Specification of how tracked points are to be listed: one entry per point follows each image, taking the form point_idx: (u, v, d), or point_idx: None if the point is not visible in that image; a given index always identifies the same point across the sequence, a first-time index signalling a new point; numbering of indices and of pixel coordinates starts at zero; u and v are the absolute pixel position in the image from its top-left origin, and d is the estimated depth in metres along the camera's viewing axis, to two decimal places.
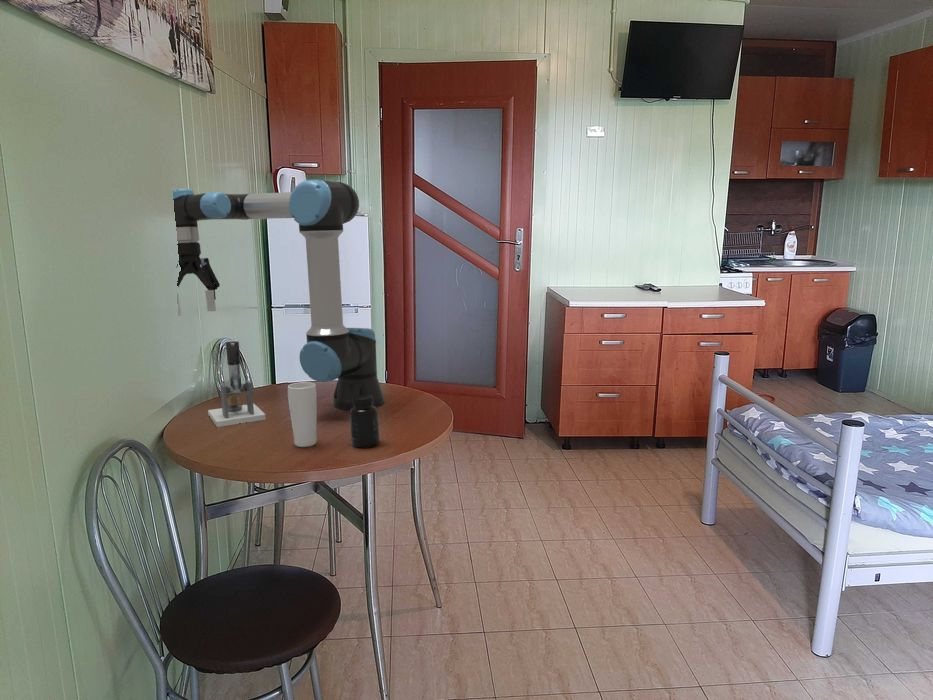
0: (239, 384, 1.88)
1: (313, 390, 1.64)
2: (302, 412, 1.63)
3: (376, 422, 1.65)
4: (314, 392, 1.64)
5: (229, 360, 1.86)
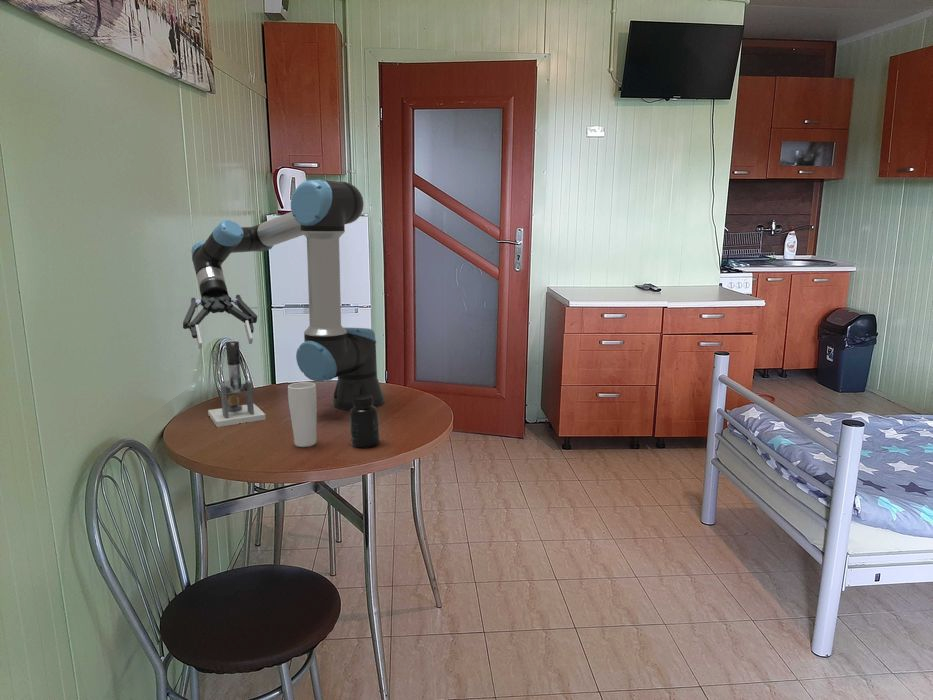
0: (239, 384, 1.88)
1: (313, 390, 1.64)
2: (302, 412, 1.63)
3: (376, 422, 1.65)
4: (314, 392, 1.64)
5: (229, 360, 1.86)
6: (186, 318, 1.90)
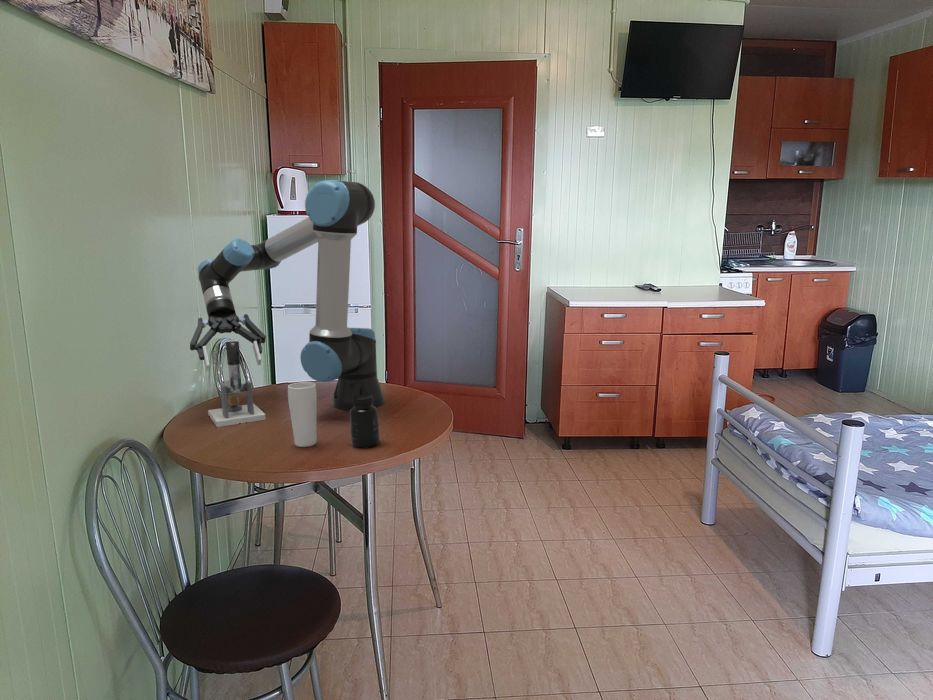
0: (239, 384, 1.88)
1: (313, 390, 1.64)
2: (302, 412, 1.63)
3: (376, 422, 1.65)
4: (314, 392, 1.64)
5: (229, 360, 1.86)
6: (193, 339, 1.85)
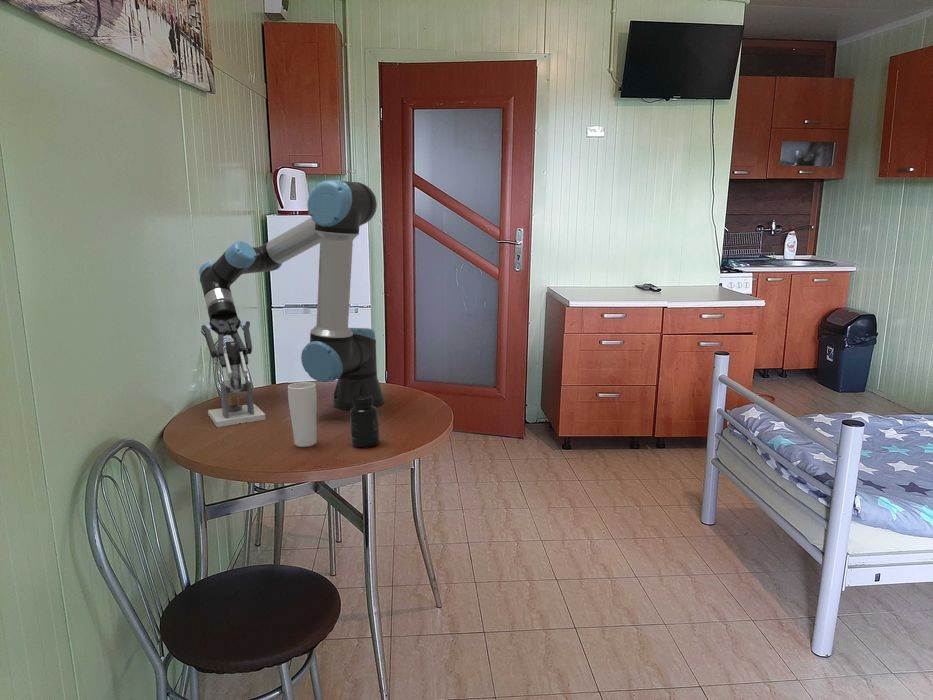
0: (239, 384, 1.88)
1: (313, 390, 1.64)
2: (302, 412, 1.63)
3: (376, 422, 1.65)
4: (314, 392, 1.64)
5: (229, 360, 1.86)
6: (212, 347, 1.86)
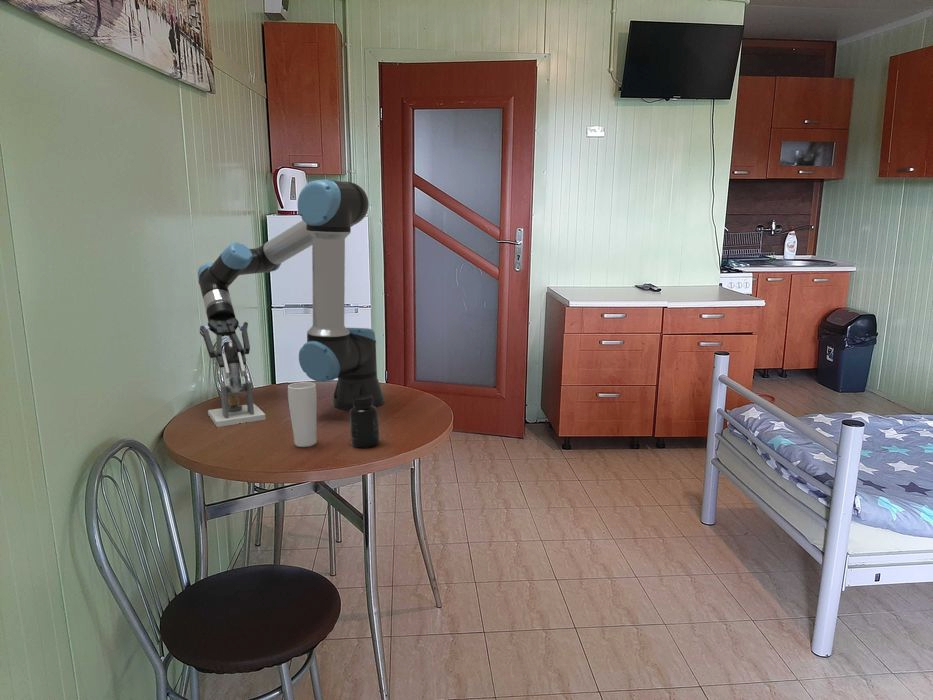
0: (239, 383, 1.88)
1: (313, 390, 1.64)
2: (302, 412, 1.63)
3: (376, 422, 1.65)
4: (314, 392, 1.64)
5: (227, 359, 1.88)
6: (210, 347, 1.88)
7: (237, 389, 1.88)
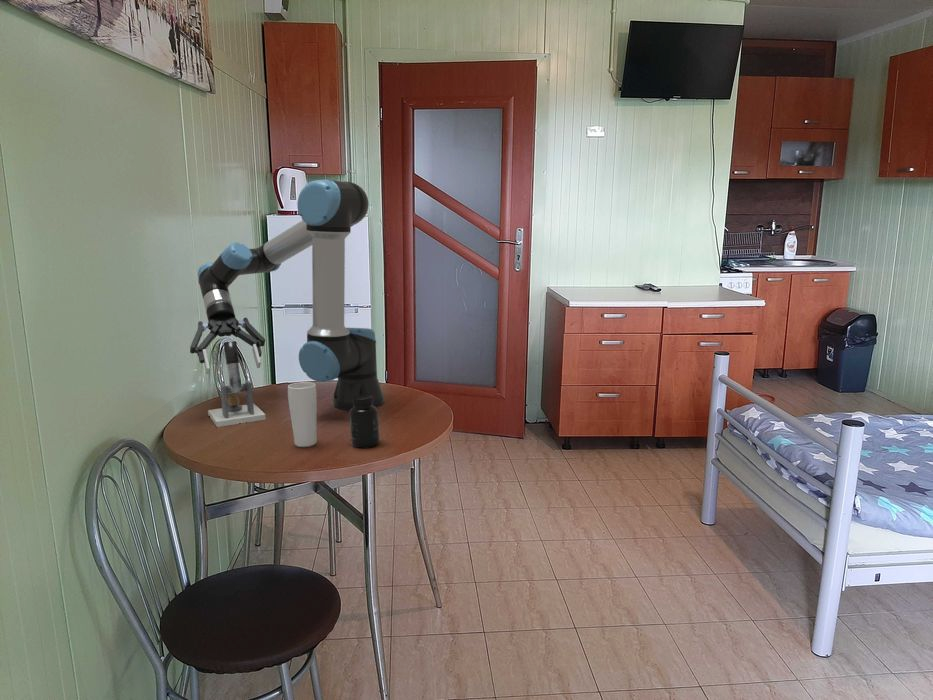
0: (239, 383, 1.88)
1: (313, 390, 1.64)
2: (302, 412, 1.63)
3: (376, 422, 1.65)
4: (314, 392, 1.64)
5: (227, 359, 1.88)
6: (193, 342, 1.88)
7: (237, 389, 1.88)
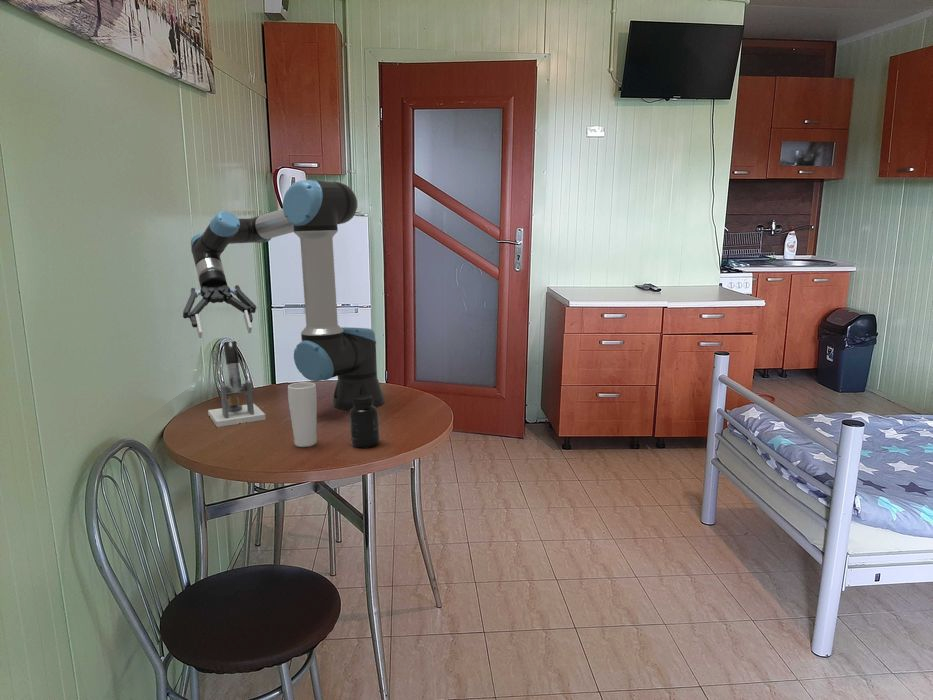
0: (239, 383, 1.88)
1: (313, 390, 1.64)
2: (302, 412, 1.63)
3: (376, 422, 1.65)
4: (314, 392, 1.64)
5: (227, 359, 1.88)
6: (186, 308, 1.93)
7: (237, 389, 1.88)
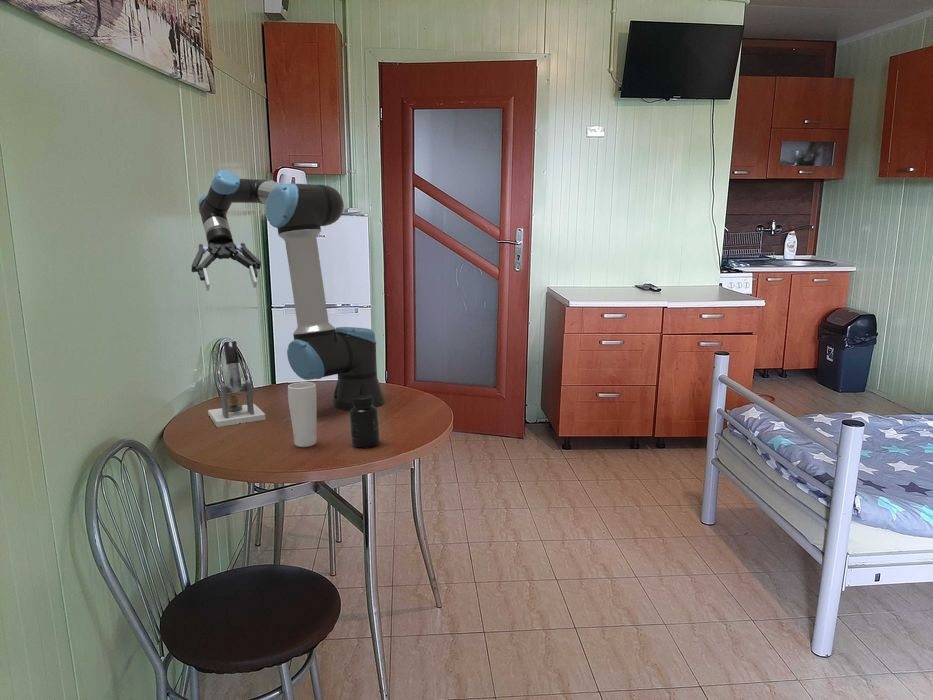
0: (239, 383, 1.88)
1: (313, 390, 1.64)
2: (302, 412, 1.63)
3: (376, 422, 1.65)
4: (314, 392, 1.64)
5: (227, 359, 1.88)
6: (194, 262, 2.03)
7: (237, 389, 1.88)
